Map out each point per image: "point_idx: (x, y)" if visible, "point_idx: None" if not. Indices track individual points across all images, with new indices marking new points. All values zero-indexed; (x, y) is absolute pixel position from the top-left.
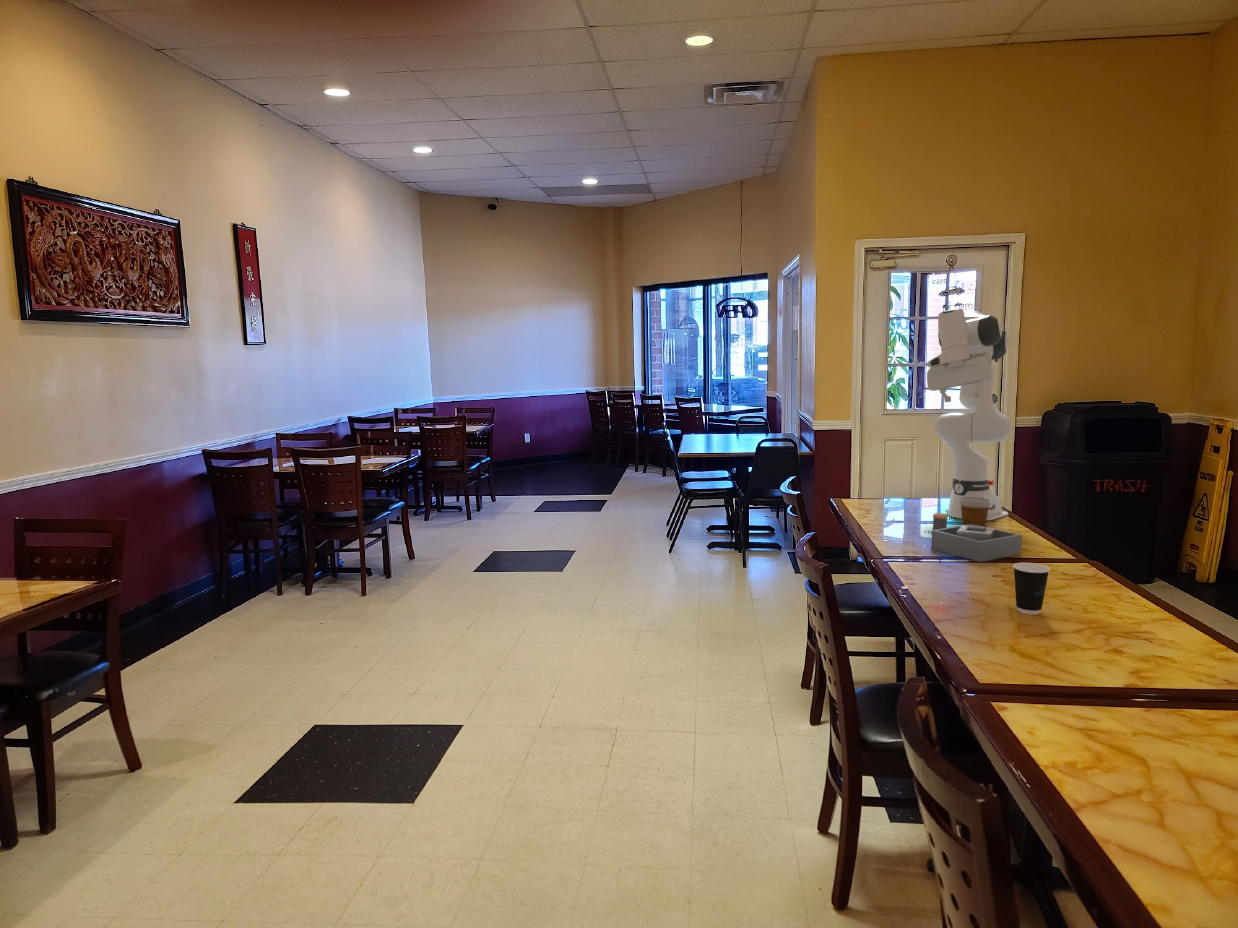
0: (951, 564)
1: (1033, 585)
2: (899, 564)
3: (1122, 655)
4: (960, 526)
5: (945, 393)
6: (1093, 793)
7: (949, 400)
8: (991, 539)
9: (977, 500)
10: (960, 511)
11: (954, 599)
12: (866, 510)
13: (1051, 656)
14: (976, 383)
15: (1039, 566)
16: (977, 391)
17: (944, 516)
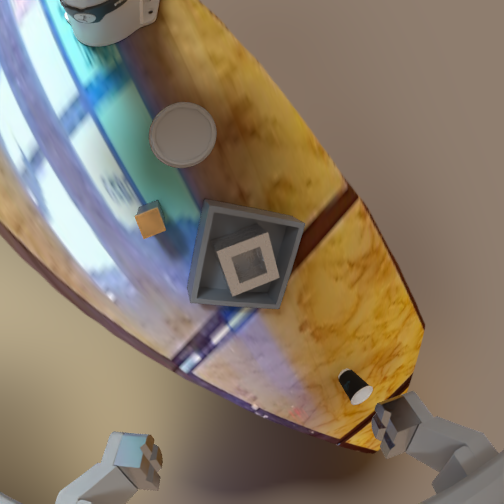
0: (248, 329)
1: (358, 392)
2: (207, 370)
3: (386, 380)
4: (206, 241)
5: (91, 491)
6: (371, 442)
7: (160, 457)
8: (283, 284)
9: (188, 131)
10: (102, 38)
11: (297, 396)
12: None
13: (360, 406)
14: (437, 491)
15: (365, 386)
16: (409, 443)
17: (164, 230)
